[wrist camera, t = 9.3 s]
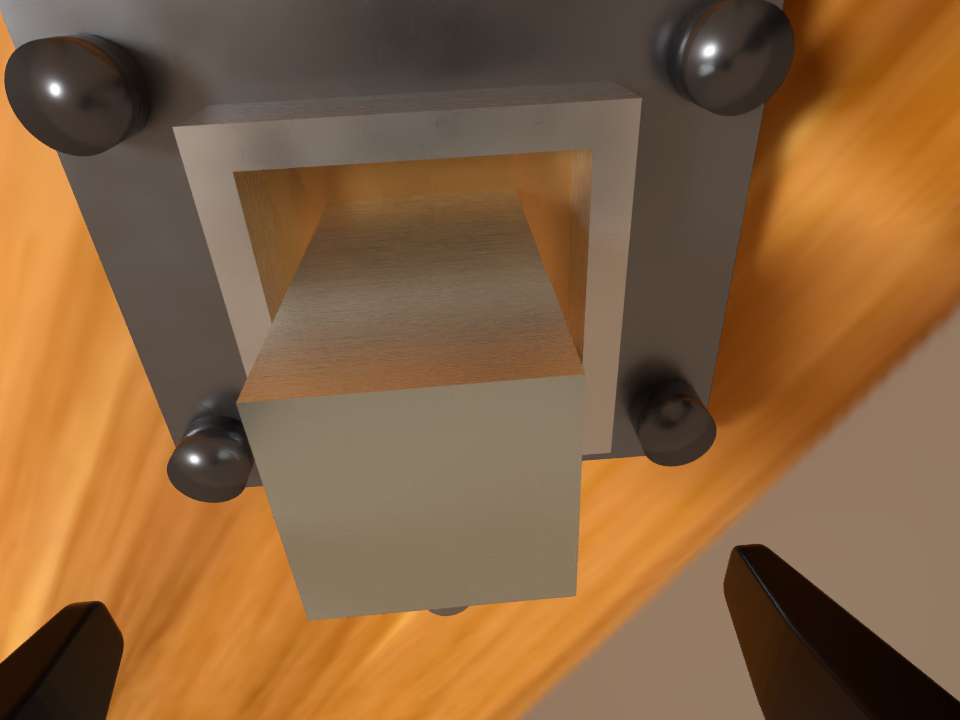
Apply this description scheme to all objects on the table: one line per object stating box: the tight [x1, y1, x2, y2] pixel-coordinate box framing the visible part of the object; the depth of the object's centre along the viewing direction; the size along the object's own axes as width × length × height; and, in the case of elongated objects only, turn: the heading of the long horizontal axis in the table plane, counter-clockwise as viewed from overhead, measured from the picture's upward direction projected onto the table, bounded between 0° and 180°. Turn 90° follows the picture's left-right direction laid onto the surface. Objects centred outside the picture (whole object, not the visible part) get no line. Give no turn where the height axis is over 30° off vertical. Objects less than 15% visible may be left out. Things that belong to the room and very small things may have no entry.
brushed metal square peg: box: [236, 189, 585, 621], centre depth 14 cm, size 5×6×9 cm
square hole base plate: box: [0, 0, 794, 503], centre depth 18 cm, size 18×15×4 cm
